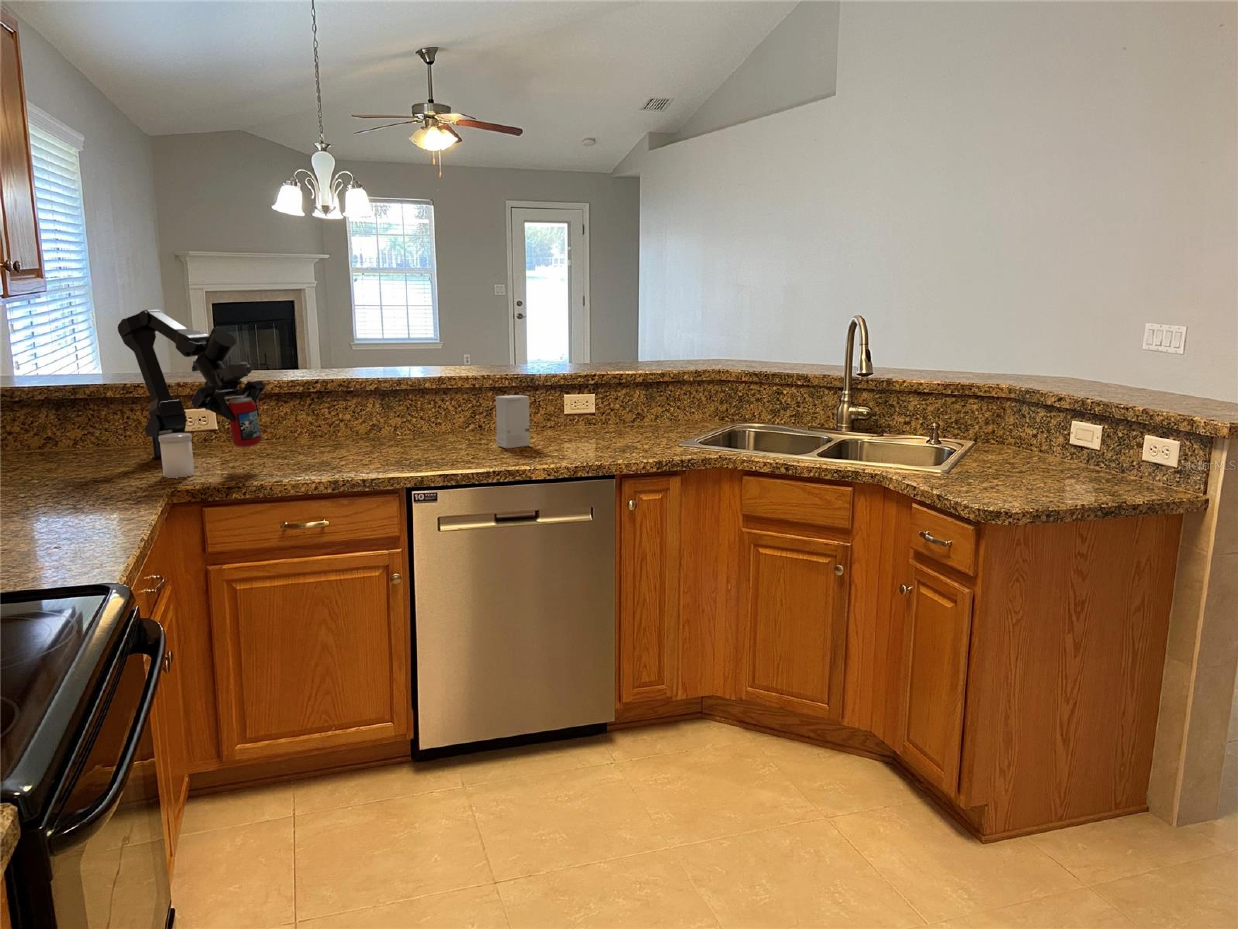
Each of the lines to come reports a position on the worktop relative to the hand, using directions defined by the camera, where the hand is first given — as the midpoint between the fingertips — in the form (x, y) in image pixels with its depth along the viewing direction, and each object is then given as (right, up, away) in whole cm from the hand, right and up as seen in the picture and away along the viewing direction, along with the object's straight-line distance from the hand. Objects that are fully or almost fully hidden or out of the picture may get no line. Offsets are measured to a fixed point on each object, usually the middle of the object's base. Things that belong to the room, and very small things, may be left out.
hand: (246, 419), depth 229 cm
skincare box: (+64, -6, +35) cm, 73 cm away
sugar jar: (-15, -14, -4) cm, 21 cm away
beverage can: (-1, -7, +3) cm, 7 cm away
